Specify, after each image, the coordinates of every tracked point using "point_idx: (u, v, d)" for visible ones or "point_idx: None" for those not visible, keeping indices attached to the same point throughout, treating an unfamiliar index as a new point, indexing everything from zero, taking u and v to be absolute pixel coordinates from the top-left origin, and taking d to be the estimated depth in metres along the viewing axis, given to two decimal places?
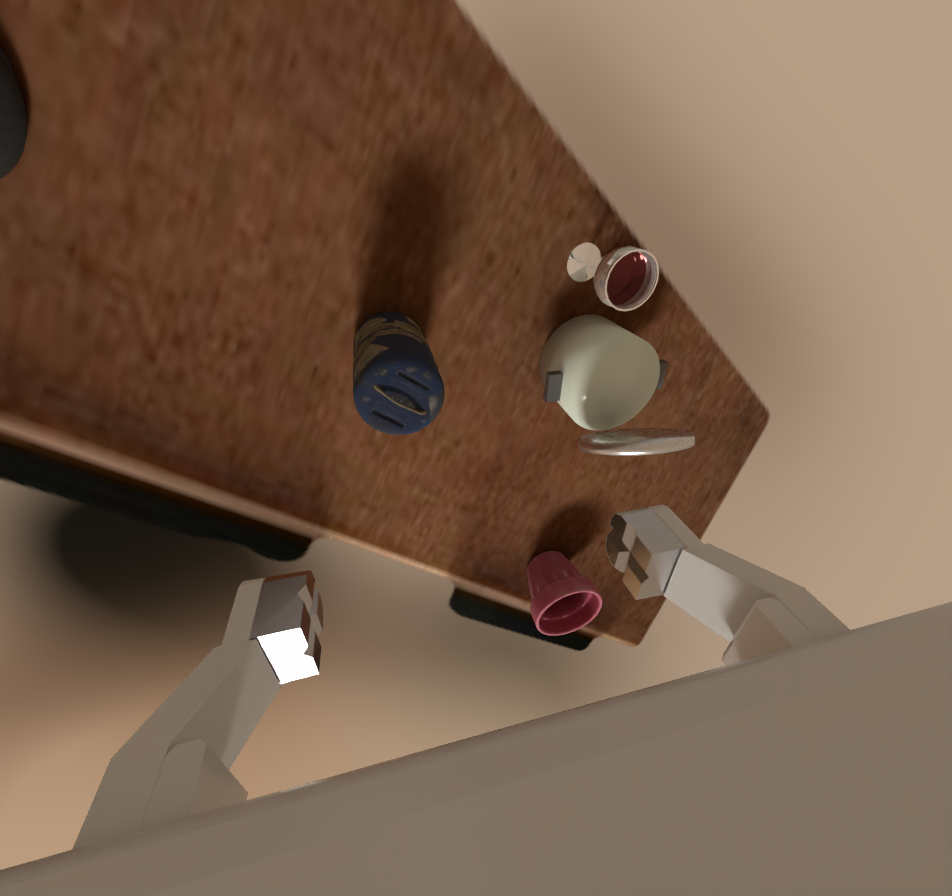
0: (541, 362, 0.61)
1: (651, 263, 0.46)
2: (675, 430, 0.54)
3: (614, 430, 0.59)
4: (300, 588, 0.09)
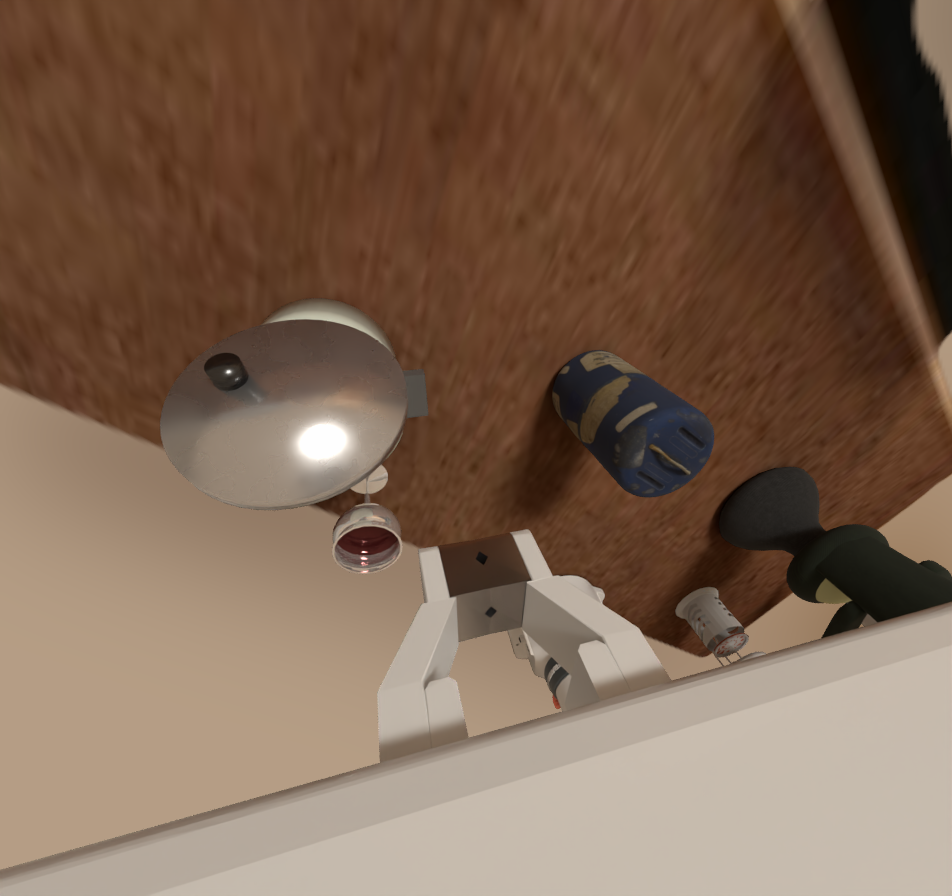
0: None
1: (345, 561, 0.41)
2: None
3: None
4: (476, 554, 0.10)
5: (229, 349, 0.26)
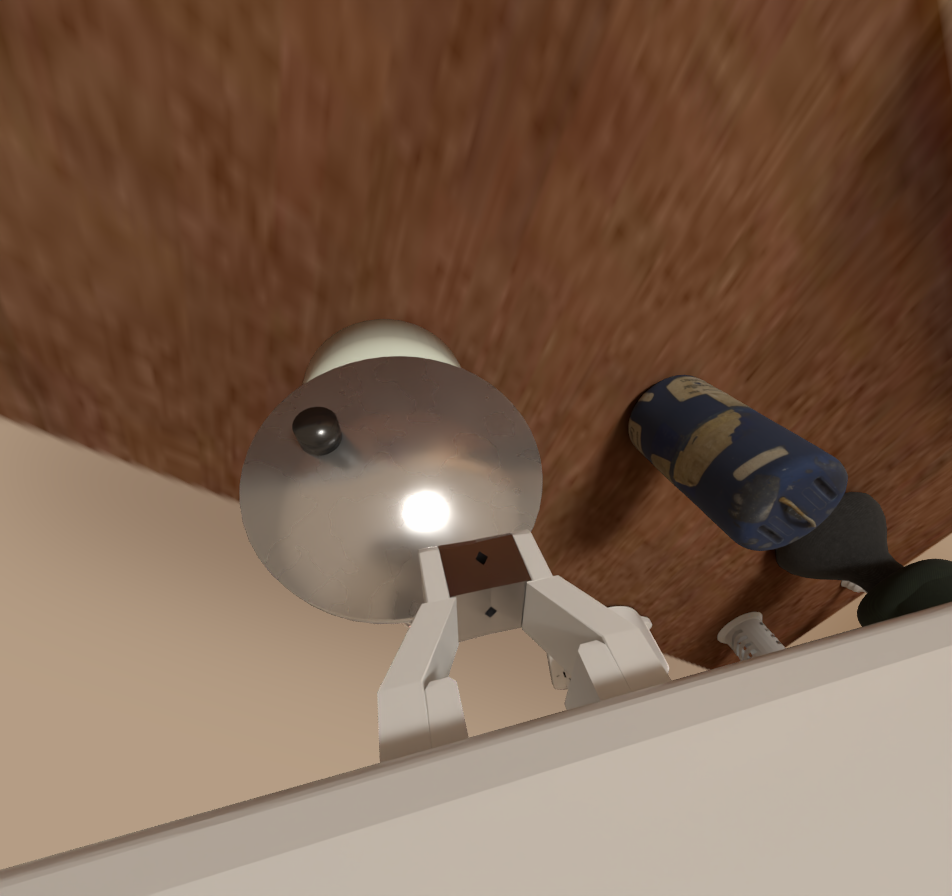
0: None
1: None
2: None
3: None
4: (476, 554, 0.10)
5: (312, 397, 0.21)
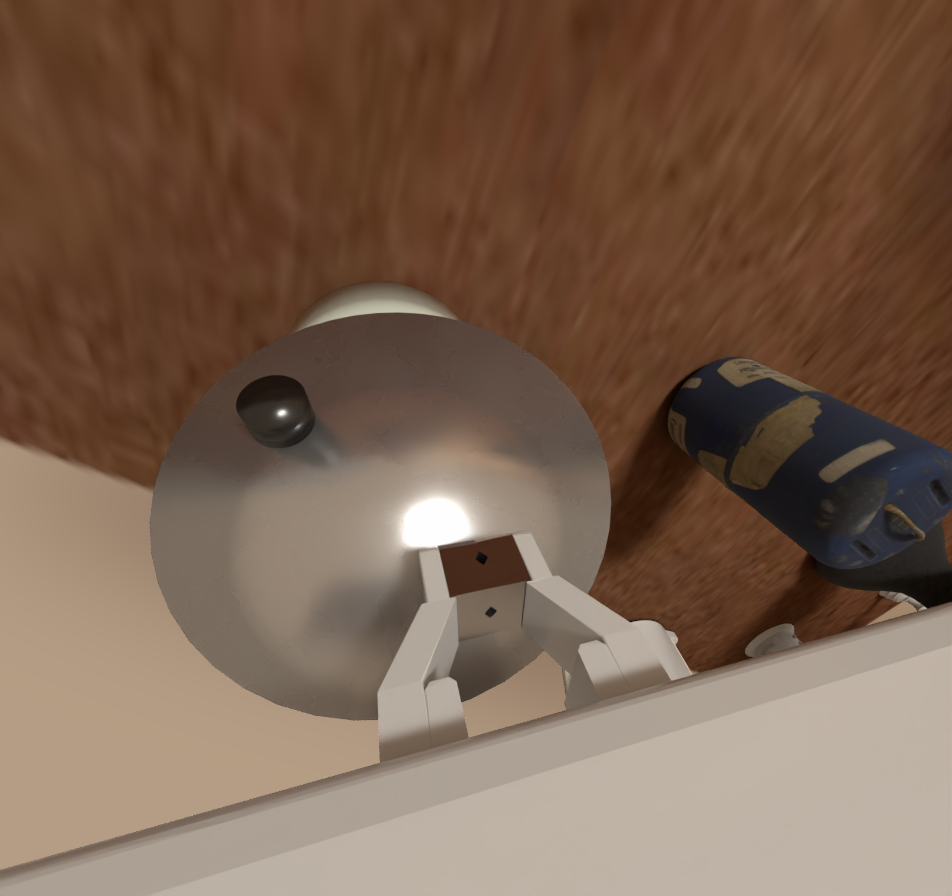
0: None
1: None
2: None
3: None
4: (476, 554, 0.10)
5: (275, 365, 0.15)
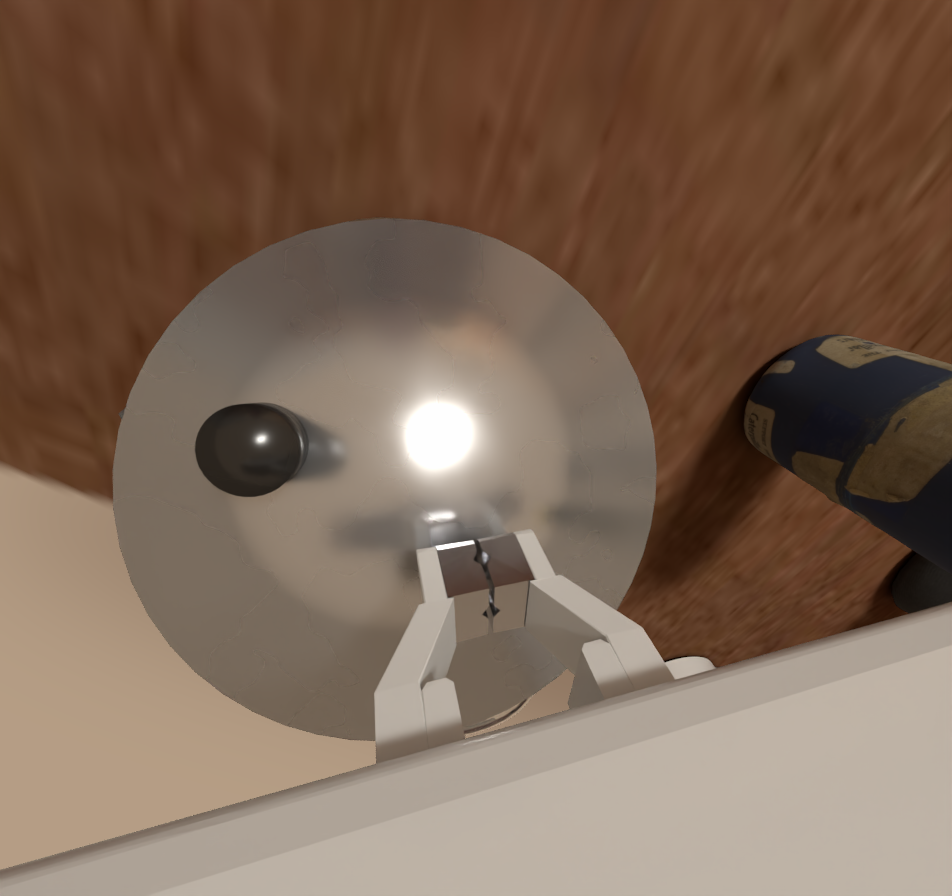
0: None
1: None
2: None
3: None
4: (473, 554, 0.10)
5: (229, 334, 0.09)
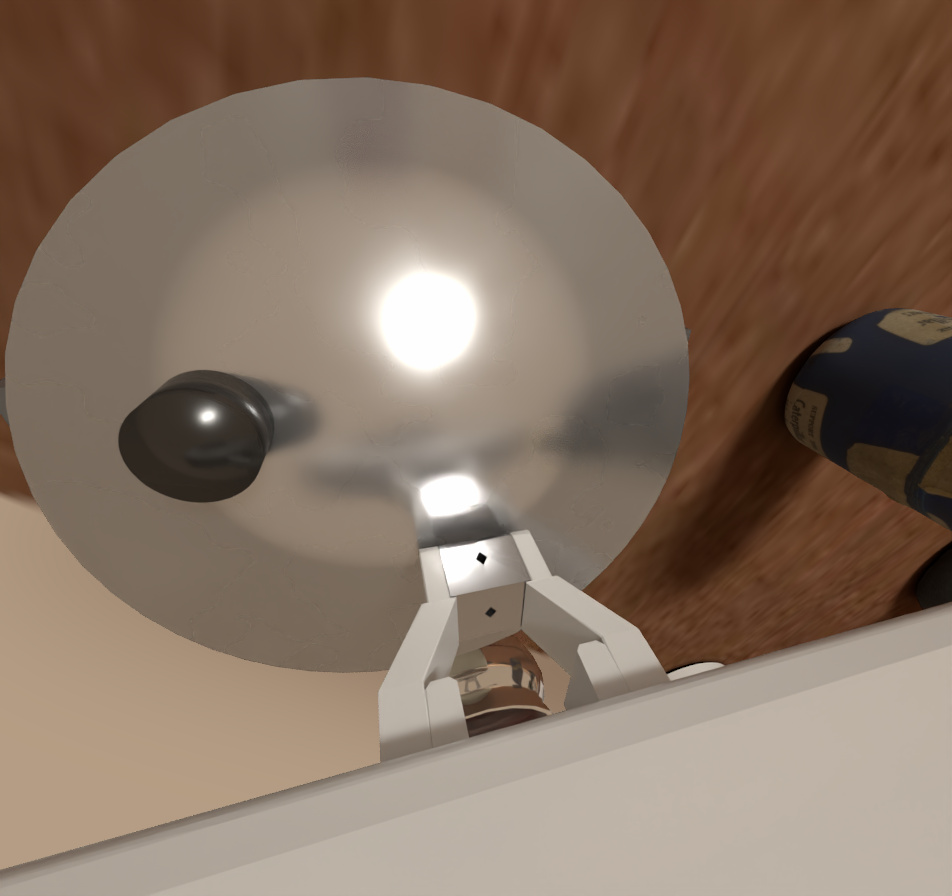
0: None
1: None
2: None
3: None
4: (476, 554, 0.10)
5: (135, 272, 0.06)
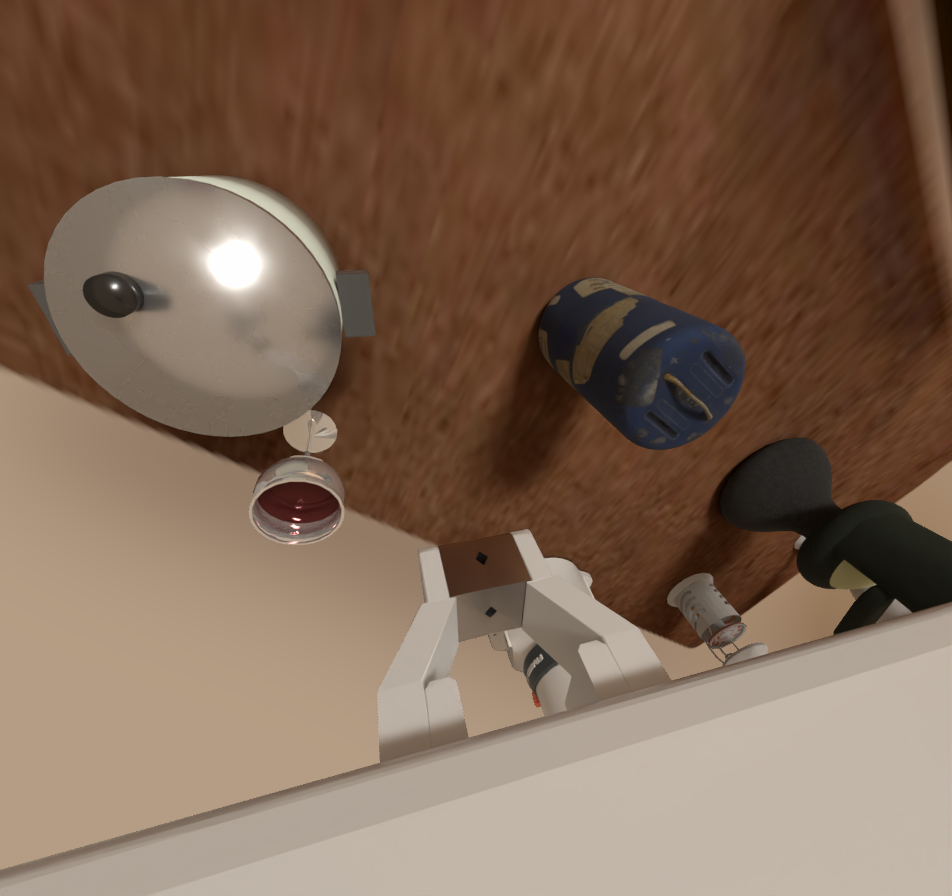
0: None
1: (269, 528, 0.32)
2: None
3: None
4: (475, 554, 0.10)
5: (87, 235, 0.19)
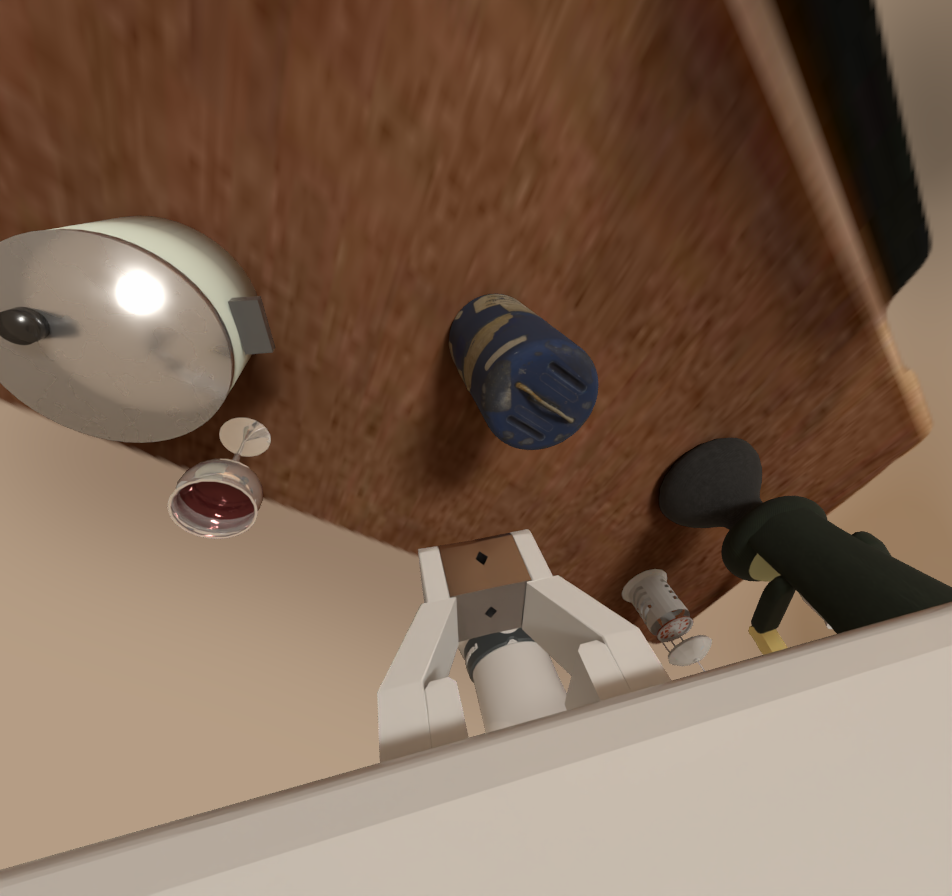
0: None
1: (192, 523, 0.36)
2: None
3: None
4: (476, 554, 0.10)
5: None
